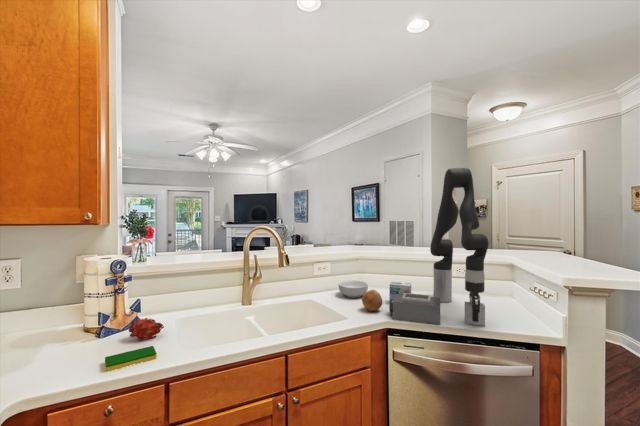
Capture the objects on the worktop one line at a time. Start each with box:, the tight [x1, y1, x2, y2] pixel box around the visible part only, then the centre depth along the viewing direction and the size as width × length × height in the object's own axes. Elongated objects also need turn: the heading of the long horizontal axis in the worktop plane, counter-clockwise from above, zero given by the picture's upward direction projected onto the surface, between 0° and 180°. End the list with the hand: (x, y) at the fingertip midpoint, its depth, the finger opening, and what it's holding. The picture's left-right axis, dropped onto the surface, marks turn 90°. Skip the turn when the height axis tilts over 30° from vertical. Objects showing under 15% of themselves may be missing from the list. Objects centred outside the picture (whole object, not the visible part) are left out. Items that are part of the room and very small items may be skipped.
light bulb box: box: [388, 280, 412, 304], centre depth 161 cm, size 11×7×11 cm, turn 68°
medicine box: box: [464, 301, 486, 327], centre depth 133 cm, size 8×4×9 cm, turn 65°
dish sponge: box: [104, 345, 157, 373], centre depth 100 cm, size 7×14×2 cm, turn 127°
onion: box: [361, 289, 383, 312], centre depth 150 cm, size 10×10×10 cm
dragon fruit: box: [128, 317, 165, 342], centre depth 118 cm, size 8×8×12 cm
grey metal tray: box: [388, 292, 441, 326], centre depth 141 cm, size 14×22×10 cm, turn 70°
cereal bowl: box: [338, 280, 369, 299], centre depth 176 cm, size 17×17×7 cm
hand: (474, 319), depth 133 cm, fingers closed on medicine box, 4 cm apart
